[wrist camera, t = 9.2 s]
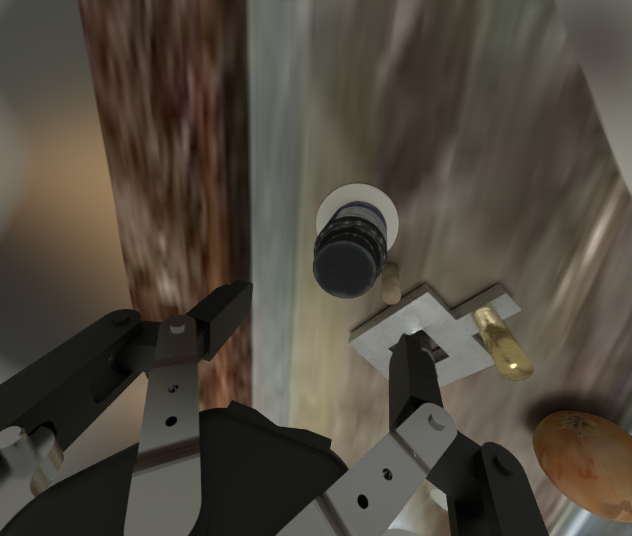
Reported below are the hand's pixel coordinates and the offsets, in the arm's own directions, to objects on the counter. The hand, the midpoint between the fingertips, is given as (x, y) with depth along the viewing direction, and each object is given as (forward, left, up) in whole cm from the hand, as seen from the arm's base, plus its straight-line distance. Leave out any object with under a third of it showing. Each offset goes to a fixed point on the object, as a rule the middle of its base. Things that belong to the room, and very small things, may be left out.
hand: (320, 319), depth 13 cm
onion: (-27, +25, -18) cm, 41 cm away
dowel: (-4, +5, -18) cm, 19 cm away
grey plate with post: (-10, +13, -17) cm, 24 cm away
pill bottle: (0, 0, -17) cm, 17 cm away
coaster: (0, 0, -18) cm, 18 cm away
